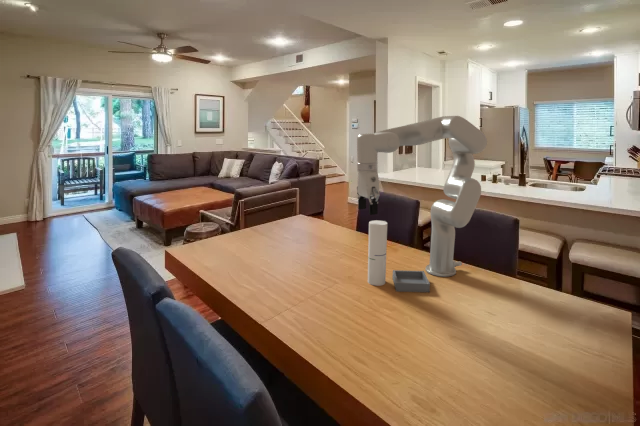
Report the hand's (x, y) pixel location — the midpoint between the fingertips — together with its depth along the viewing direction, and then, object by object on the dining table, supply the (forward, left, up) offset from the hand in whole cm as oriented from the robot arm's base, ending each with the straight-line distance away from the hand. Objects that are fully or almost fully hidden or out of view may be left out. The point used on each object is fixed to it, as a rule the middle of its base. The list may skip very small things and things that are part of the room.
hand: (367, 211), depth 139 cm
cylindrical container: (-4, 0, -30) cm, 30 cm away
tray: (-16, +8, -30) cm, 34 cm away
